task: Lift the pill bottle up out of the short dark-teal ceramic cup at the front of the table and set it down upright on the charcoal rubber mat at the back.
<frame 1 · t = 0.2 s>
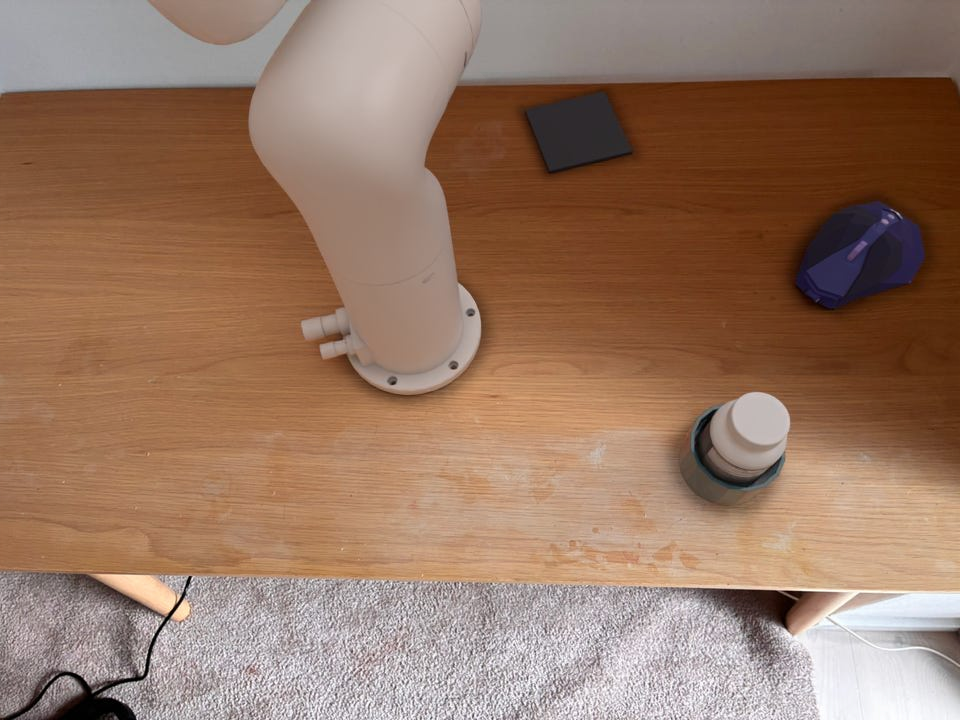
computer mouse: (857, 261, 65), on the table
mat: (577, 132, 73), on the table
cup: (721, 463, 56), on the table
pill bottle: (722, 462, 56), resting on cup
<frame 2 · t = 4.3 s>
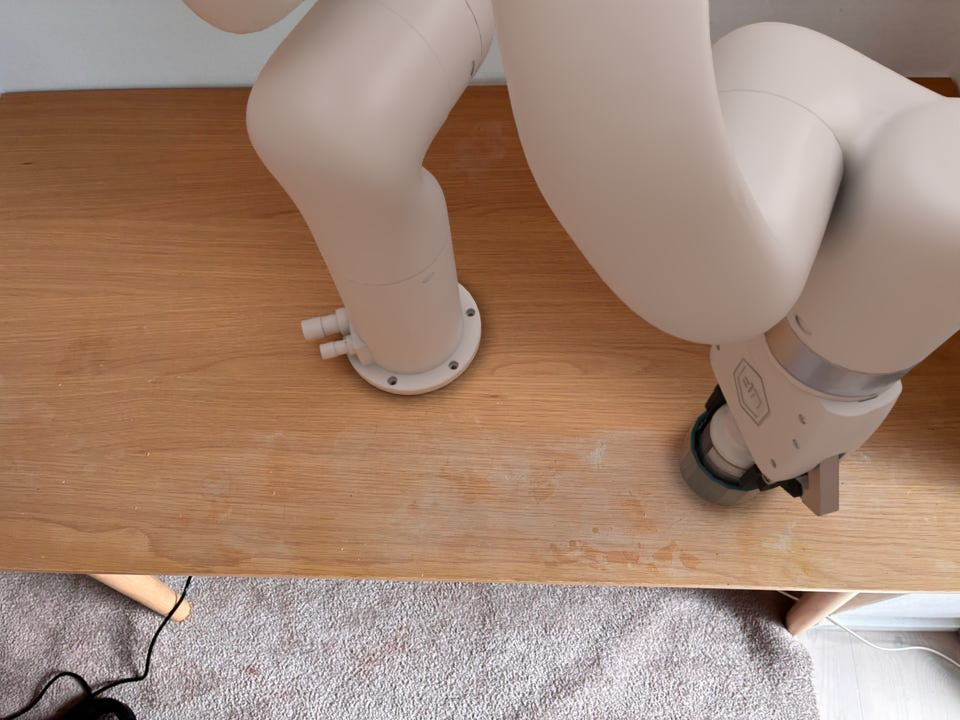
hand: (741, 440, 51), 6 cm above the table, tool pointing down, fingers closed on pill bottle, 5 cm apart
pill bottle: (722, 462, 56), resting on cup, touching gripper
everything else where it was.
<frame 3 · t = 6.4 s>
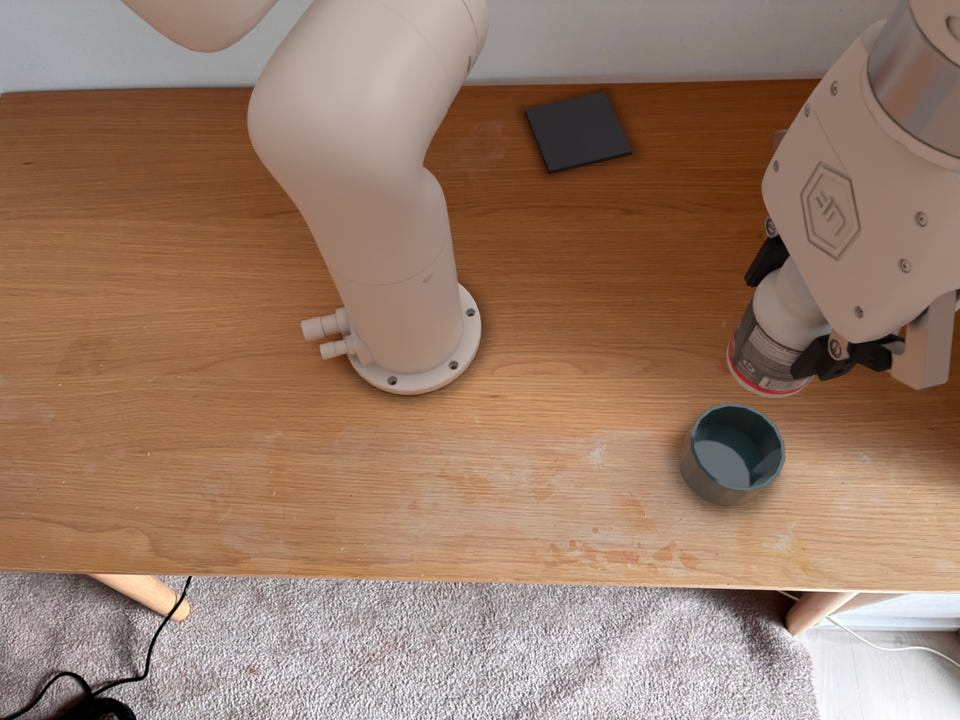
hand: (792, 320, 39), 20 cm above the table, tool pointing down, fingers closed on pill bottle, 5 cm apart
pill bottle: (766, 363, 44), point 15 cm above the table, touching gripper
everything else where it was.
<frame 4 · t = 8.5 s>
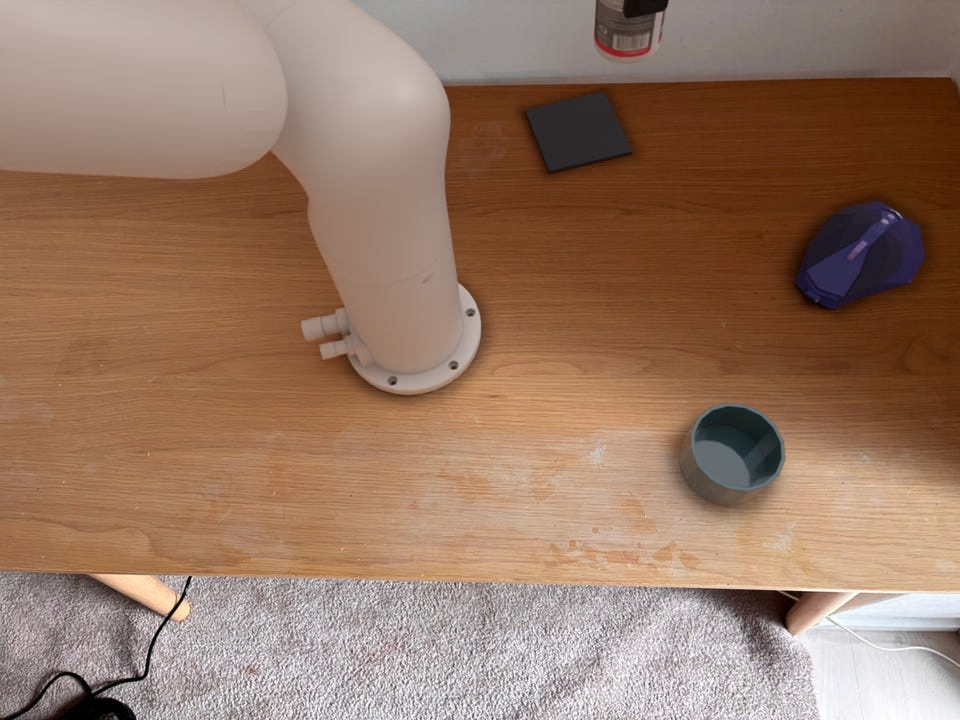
pill bottle: (626, 45, 56), point 16 cm above the table, touching gripper
everything else where it was.
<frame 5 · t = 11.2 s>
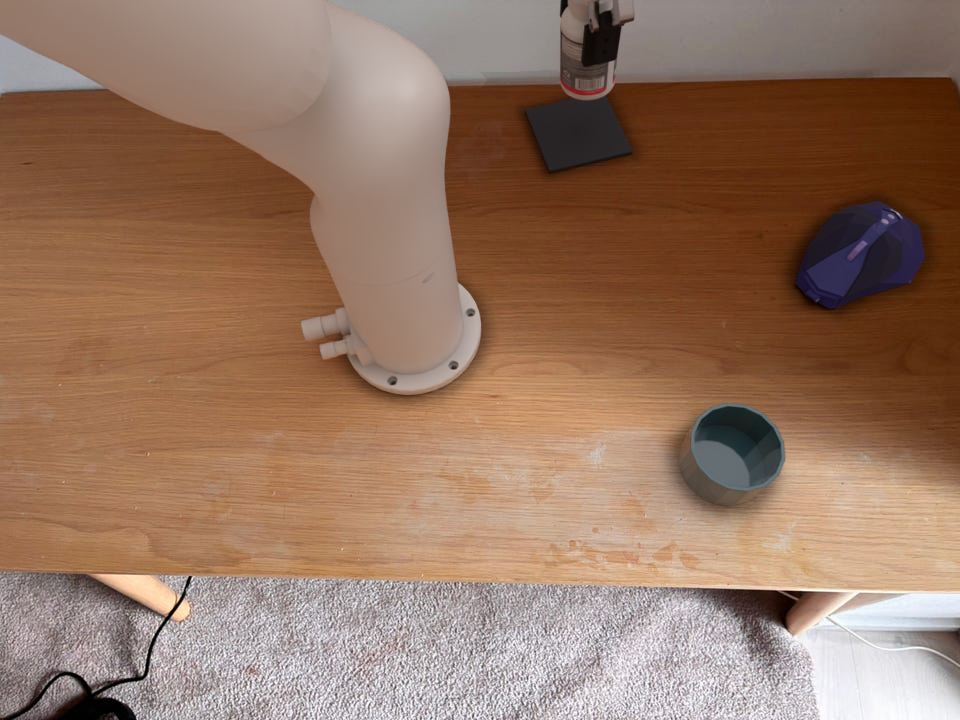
hand: (587, 37, 63), 12 cm above the table, tool pointing down, fingers closed on pill bottle, 5 cm apart
pill bottle: (587, 84, 67), point 6 cm above the table, touching gripper
everything else where it was.
when the fingers open (6 cm above the table, at t = 13.1 s): pill bottle stays where it is, resting on mat.
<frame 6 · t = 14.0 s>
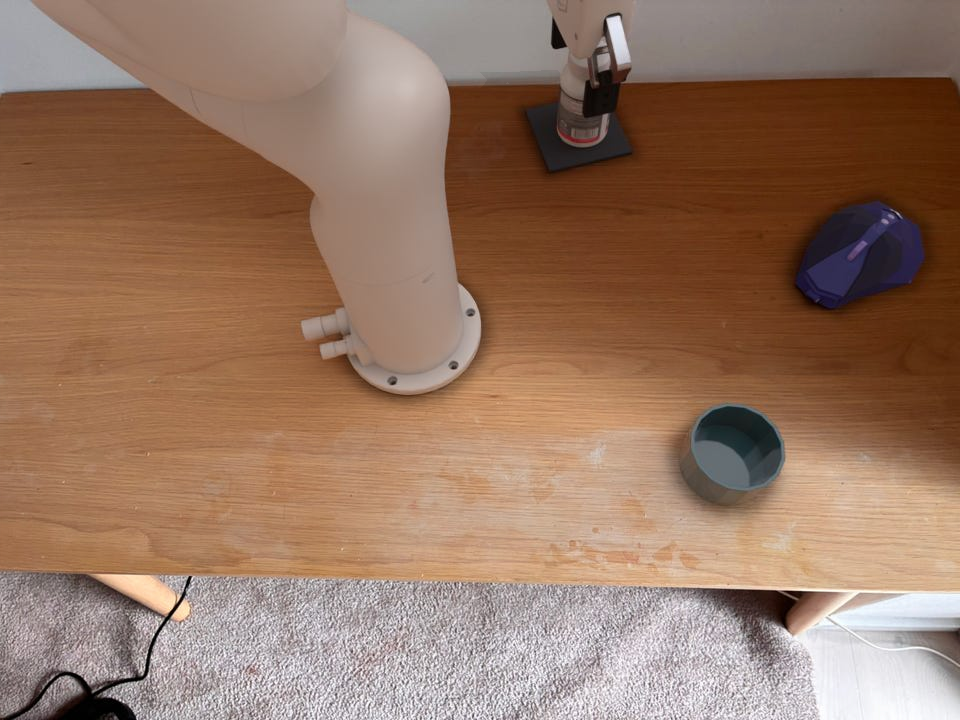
hand: (582, 78, 66), 7 cm above the table, tool pointing down, fingers open, 9 cm apart
pill bottle: (581, 131, 73), resting on mat
everything else where it was.
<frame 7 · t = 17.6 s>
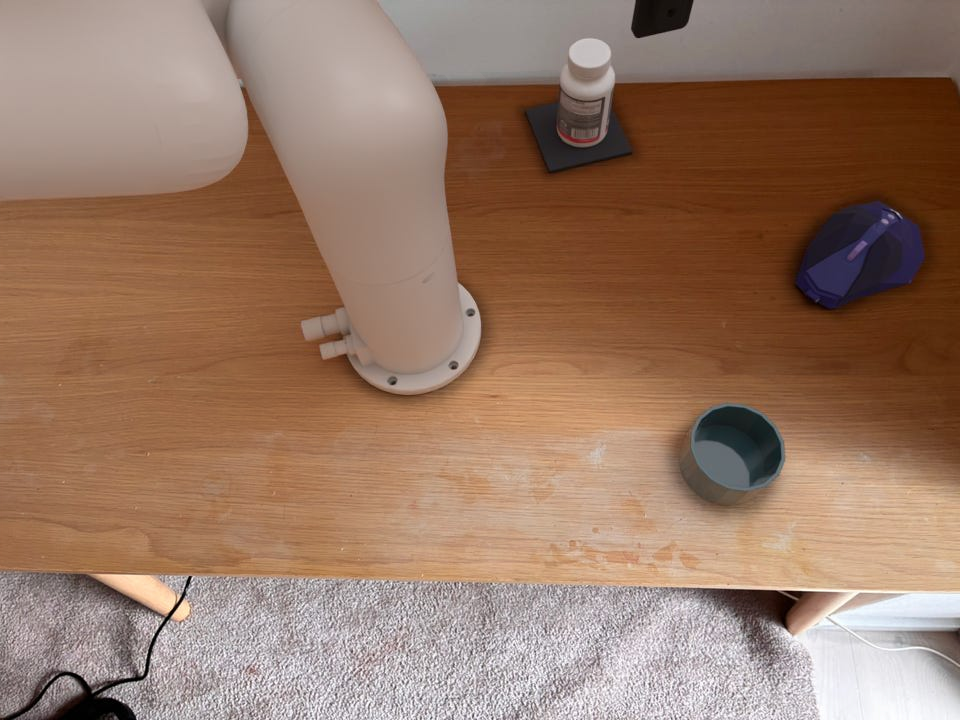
nothing on the table moved.
at the end: pill bottle inside the target area on the mat (0.4 cm from its centre), point 0.2 cm above the mat's base; pill bottle tilted 0°; the gripper is holding nothing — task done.
